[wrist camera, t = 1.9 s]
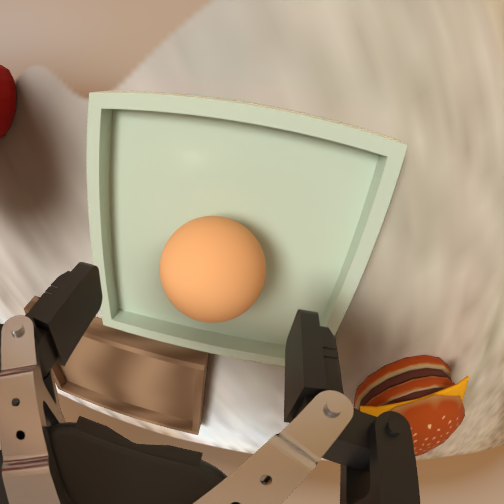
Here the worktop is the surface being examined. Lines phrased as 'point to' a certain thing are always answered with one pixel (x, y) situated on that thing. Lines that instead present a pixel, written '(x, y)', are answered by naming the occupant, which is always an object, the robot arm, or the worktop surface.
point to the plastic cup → (6, 100)
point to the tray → (136, 376)
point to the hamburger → (416, 398)
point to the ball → (212, 269)
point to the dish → (232, 209)
